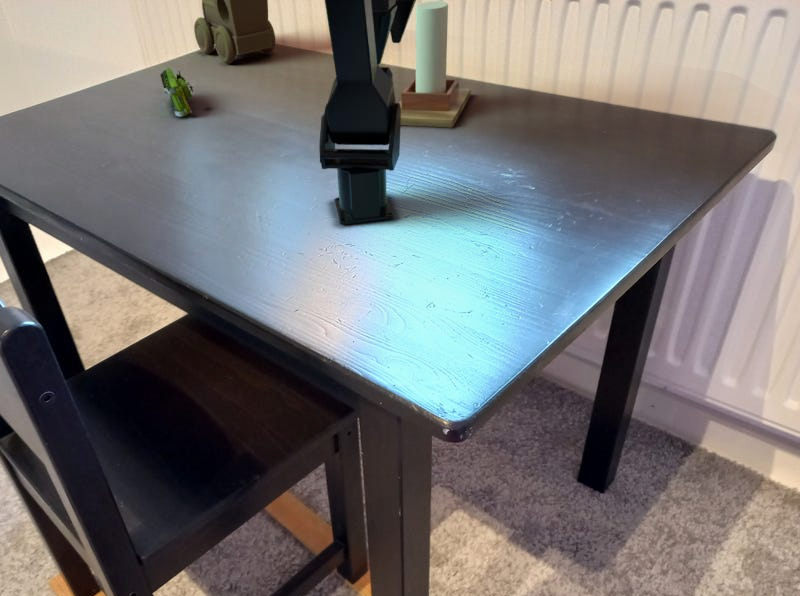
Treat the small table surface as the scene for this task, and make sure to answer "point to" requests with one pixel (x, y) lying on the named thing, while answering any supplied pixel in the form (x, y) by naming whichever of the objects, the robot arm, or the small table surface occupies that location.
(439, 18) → the post
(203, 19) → the wooden toy train
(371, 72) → the robot arm
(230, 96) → the small table surface
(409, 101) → the base pad
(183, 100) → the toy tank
